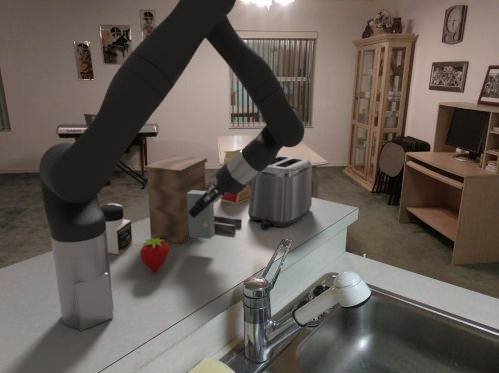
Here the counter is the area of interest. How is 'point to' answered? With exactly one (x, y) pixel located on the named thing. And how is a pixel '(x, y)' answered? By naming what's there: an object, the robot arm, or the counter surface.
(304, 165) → the toaster
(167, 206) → the wooden cabinet
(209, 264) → the counter surface
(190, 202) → the gray-green rectangular block
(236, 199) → the milk carton
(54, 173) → the robot arm
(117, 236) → the medicine bottle
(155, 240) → the strawberry
